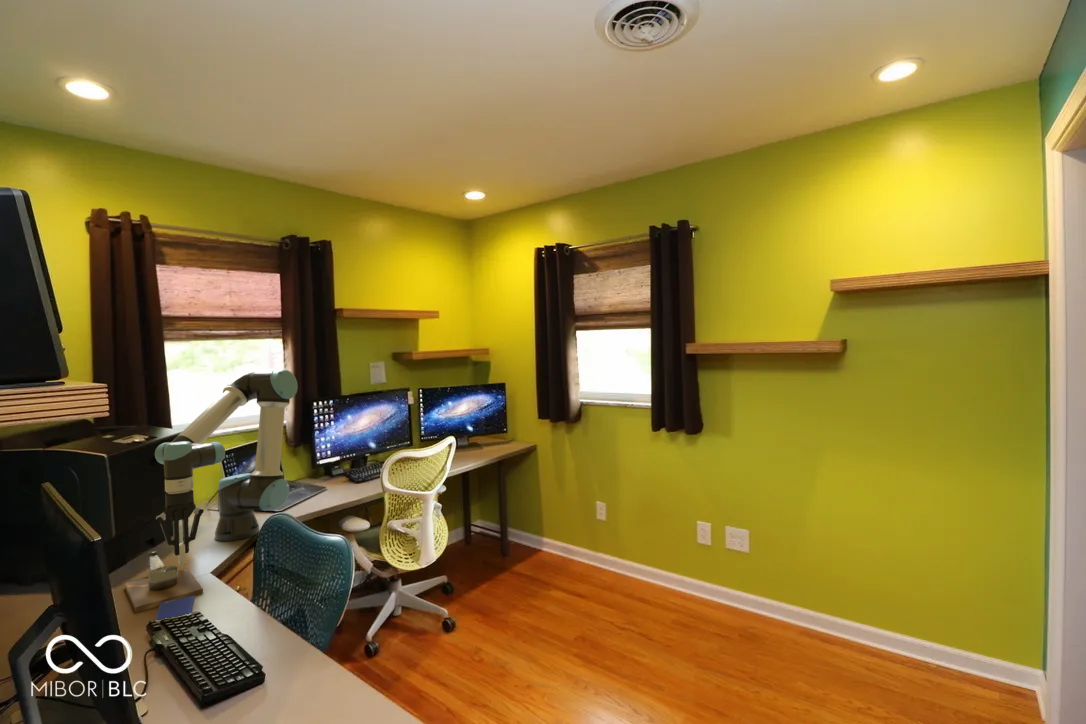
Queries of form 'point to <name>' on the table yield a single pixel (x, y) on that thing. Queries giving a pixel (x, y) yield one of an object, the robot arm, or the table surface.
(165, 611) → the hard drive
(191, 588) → the base plate
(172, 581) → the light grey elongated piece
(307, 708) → the table surface
